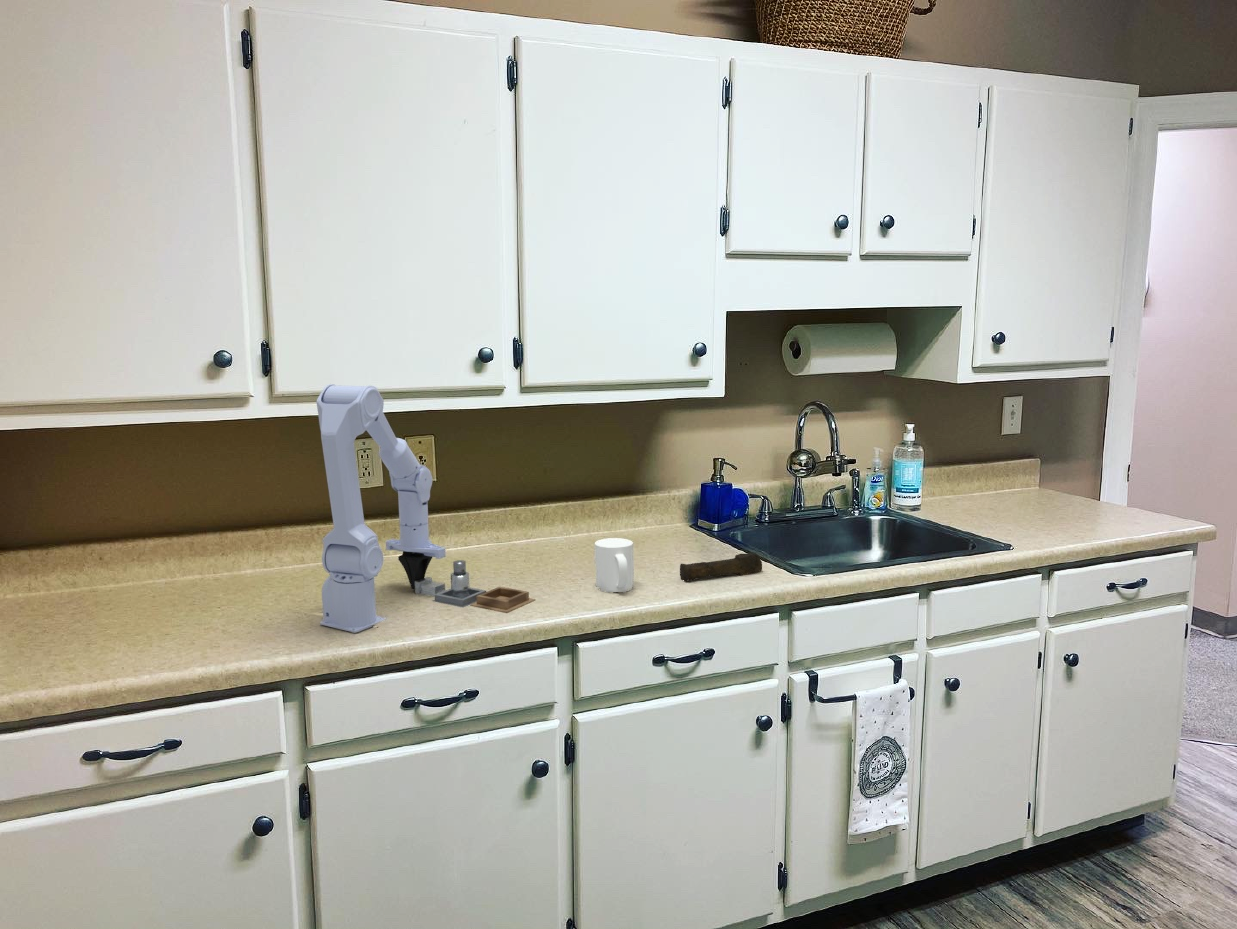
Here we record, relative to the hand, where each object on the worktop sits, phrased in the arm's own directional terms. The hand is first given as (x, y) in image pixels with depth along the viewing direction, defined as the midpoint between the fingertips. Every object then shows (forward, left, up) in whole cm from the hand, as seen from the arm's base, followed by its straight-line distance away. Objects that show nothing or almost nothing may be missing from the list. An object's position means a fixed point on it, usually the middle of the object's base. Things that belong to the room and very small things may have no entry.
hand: (417, 587), depth 196 cm
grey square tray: (+12, 0, -1) cm, 12 cm away
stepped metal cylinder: (+12, 0, 0) cm, 12 cm away
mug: (+34, +23, -1) cm, 41 cm away
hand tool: (+49, +42, -2) cm, 64 cm away
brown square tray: (+21, +2, -1) cm, 21 cm away
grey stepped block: (+4, 0, -1) cm, 4 cm away
